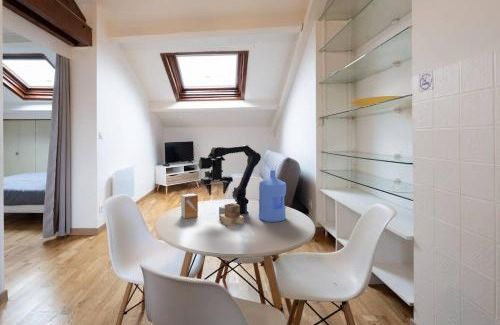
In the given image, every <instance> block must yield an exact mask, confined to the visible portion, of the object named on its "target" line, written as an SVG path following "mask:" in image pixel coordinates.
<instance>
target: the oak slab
mask: <svg viewBox="0 0 500 325" xmlns="http://www.w3.org/2000/svg"><path fill="white" fill-rule="evenodd" d="M244 218H245V217H244V216H243V215H242V214H240V216H238V217H233V218H230V217H227V216H225V214H221V215H220V217H219V222H220V223H222V224H223V225H225V226H226V227H230V226H235V225H242V224H243V225H244V221H245V220H244Z"/></svg>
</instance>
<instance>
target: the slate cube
mask: <svg viewBox="0 0 500 325" xmlns="http://www.w3.org/2000/svg"><path fill="white" fill-rule="evenodd" d="M225 205H226V204H224V205H221V206H218V217H219V218H220V215H221V214H225Z"/></svg>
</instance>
